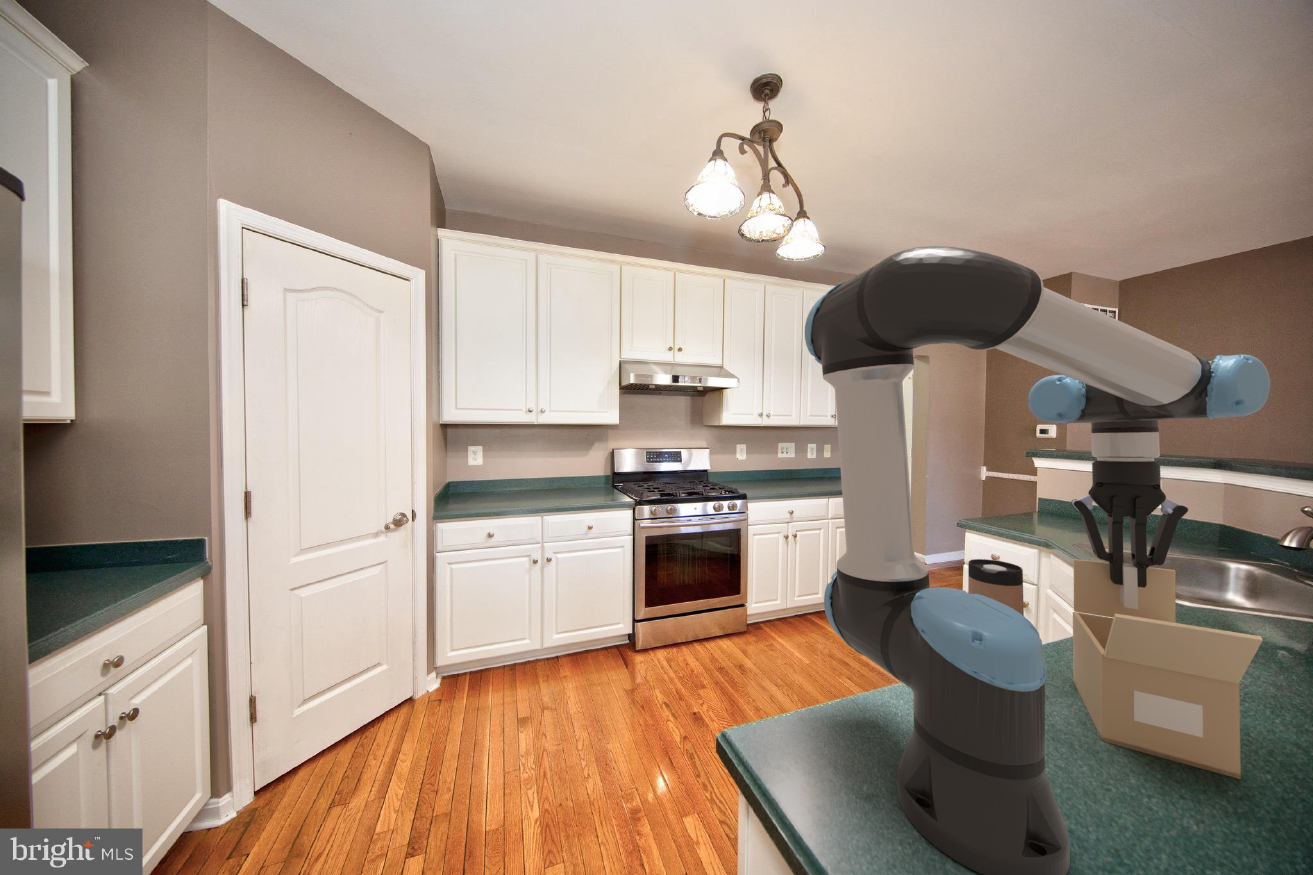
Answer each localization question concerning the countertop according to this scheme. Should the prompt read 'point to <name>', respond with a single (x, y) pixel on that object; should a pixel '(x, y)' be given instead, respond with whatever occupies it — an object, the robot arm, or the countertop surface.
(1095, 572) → the far flap
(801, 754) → the countertop surface
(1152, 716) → the carton
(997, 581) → the travel mug
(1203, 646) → the near flap
